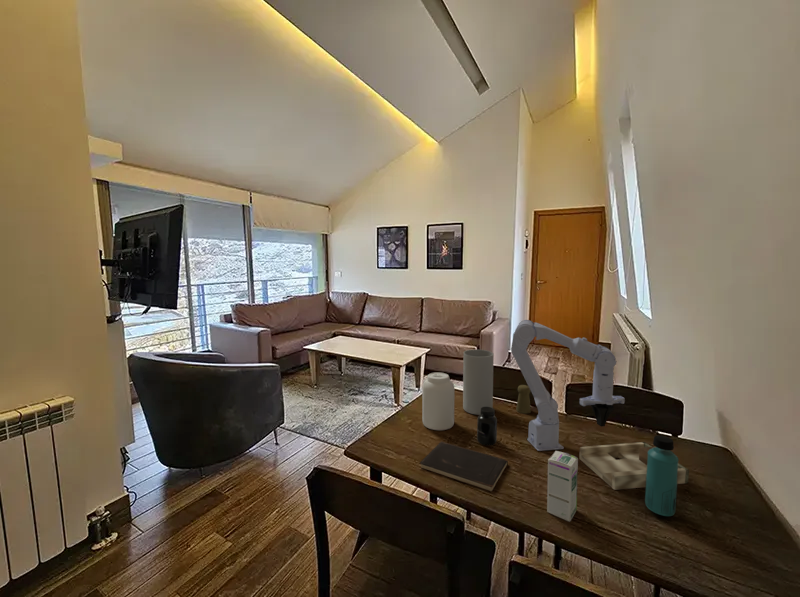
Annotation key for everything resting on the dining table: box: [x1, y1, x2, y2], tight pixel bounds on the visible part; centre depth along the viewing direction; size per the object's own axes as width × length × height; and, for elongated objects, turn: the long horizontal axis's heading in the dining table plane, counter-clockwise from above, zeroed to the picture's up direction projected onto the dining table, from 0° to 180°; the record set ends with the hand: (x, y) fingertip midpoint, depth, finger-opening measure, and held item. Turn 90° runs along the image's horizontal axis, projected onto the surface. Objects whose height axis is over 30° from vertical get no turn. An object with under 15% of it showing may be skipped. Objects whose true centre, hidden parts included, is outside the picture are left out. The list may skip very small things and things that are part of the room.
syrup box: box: [546, 450, 579, 523], centre depth 91 cm, size 6×6×14 cm
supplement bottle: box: [476, 407, 498, 447], centre depth 127 cm, size 7×7×12 cm
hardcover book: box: [419, 441, 508, 492], centre depth 112 cm, size 16×23×2 cm
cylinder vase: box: [462, 349, 495, 416], centre depth 154 cm, size 12×12×25 cm
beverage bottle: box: [644, 434, 679, 517], centre depth 90 cm, size 6×7×20 cm
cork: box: [515, 384, 532, 415], centre depth 153 cm, size 6×6×11 cm
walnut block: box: [639, 445, 655, 465], centre depth 110 cm, size 6×4×4 cm, turn 97°
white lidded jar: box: [421, 371, 455, 431], centre depth 141 cm, size 12×12×20 cm
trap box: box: [578, 441, 690, 491], centre depth 109 cm, size 23×16×4 cm
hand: (600, 425), depth 118 cm, fingers closed
